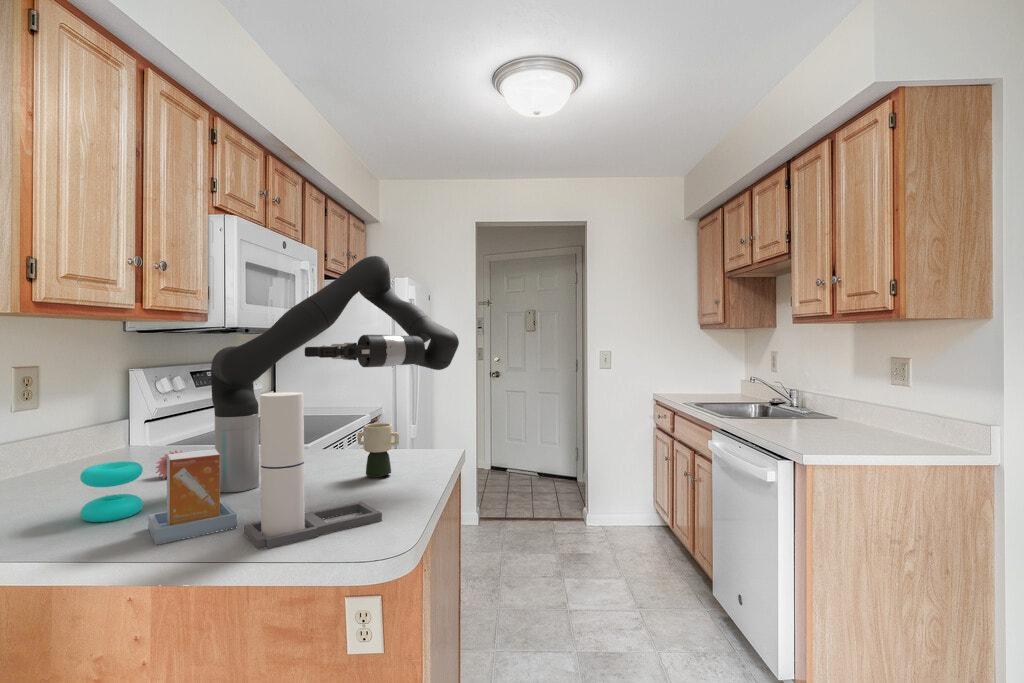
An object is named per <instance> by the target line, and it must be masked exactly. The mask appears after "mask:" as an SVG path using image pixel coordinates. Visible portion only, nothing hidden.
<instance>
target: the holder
mask: <svg viewBox="0 0 1024 683" xmlns="http://www.w3.org/2000/svg"><path fill="white" fill-rule="evenodd" d="M355 511H358V512H359V513H360V512H361V513H360V515H355V516H351V517H346V518H341V519H336V520H332V521H328V522H326V521H325V519H328V517H330V518H333V517H332V516H335V517H337V516H336V515H339V516H342V515H341V514H344V515H347V514H346V513H348V514H351V513H350V512H353V513H356V512H355ZM362 513H363V514H362ZM323 518H325V519H323ZM381 521H383V512H381V511H380V510H378V509H376V508H374V507H373V506H371V505H369V504H367V503H365V502H363V501H357V502H352V503H351V502H350V503H348V504H347V503H346V504H343V505H338V506H333V507H327V508H322V509H318V510H312V511H308V512H307V511H306V512H305V529H302V530H297V531H293V532H288V533H284V534H279V535H275V536H270V537H266V538H265V537H264V536H263V535H262V534H261V520H258V521H254V522H249V524H244V525H243V535H244V536H247V537H248V538H247V537H246V538H247V539H248V540H249V541H250V542H251V543H252V545H253V546H254V547H255V548H256V549H257V550H263V549H266V550H267V549H271V548H277V547H279V546H280V547H281V546H284V545H285V546H286V545H289V544H293V542H294V543H297V541H298V542H301V540H302V541H305V540H310V538H311V539H314V537H315V538H318V536H322V535H326V533H327V534H329V533H333V531H334V532H339V531H342V529H343V530H347V529H350V527H352V528H355V526H356V527H359V525H360V526H363V525H368V523H369V524H372V522H373V523H377V522H381ZM338 530H339V531H338ZM321 534H322V535H321Z"/></svg>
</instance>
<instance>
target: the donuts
mask: <svg viewBox="0 0 1024 683" xmlns="http://www.w3.org/2000/svg"><path fill="white" fill-rule="evenodd" d="M143 472H144V471H143V466H142V465H141V464H140V463H139V462H137V461H114V462H105V463H100V464H95V465H92V466H88V467H86V468H85V469H83V470H82V472H81V473H80V476H79V478H80V481H81V482H82V484H84V485H85V486H87V487H88V486H89V487H93V488H110V487H117V486H122V485H126V484H129V483H131V482H135V480H137V479H138V478H139V477H141V475H142V474H143ZM143 507H144V501H143V500H142V498H141V497H140V496H138V495H134V494H130V493H118V494H110V495H105V496H101V497H98V498H95V499H92V500H91V501H89V502H87V503H86V504H85V505H84V506H83V507H82V508H81V509H80V517H81V518H82V519H83V520H84V521H86V522H89V523H107V521H108V522H114V521H118V520H122V519H123V520H124V519H127V518H130V517H133V516H135V515H136V514H138V513H139V512H140V511H141V510H143Z"/></svg>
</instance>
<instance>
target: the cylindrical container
mask: <svg viewBox="0 0 1024 683" xmlns="http://www.w3.org/2000/svg"><path fill="white" fill-rule="evenodd" d="M304 397H305V396H304V392H301V391H284V392H282V391H281V392H267V393H261V394H260V395H259V407H260V408H259V413H260V414H259V417H260V418H259V421H260V425H259V429H260V430H259V441H260V517H261V518H260V521H261V531H260V533H261V534H262V535H263V536H264V537H265V538H266V537H270V536H275V535H279V534H284V533H288V532H293V531H297V530H302V529H306V527H305V513H306V512H305V510H306V509H305V508H306V507H305V427H304V426H305V421H304V420H305V418H304V416H305V407H304V406H305V405H304V402H305V401H304V399H305V398H304Z"/></svg>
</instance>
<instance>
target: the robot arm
mask: <svg viewBox="0 0 1024 683" xmlns="http://www.w3.org/2000/svg"><path fill="white" fill-rule="evenodd" d="M391 282H392V280H391V273H390V265H389V263H388V262H387V259H385V258H384V257H382V256H378V255H371V256H368V257H364V258H362V259H360V260H359V261H358V262H356V263H354V264H353V265H352V266H351V267H349V268H348V269H347V270H346V271H345V272H343V273H342V274H341V275H340V276H339V277H337V278H336V279H334V280H333V281H331V282H330V283H329V284H327V285H325V286H324V287H322V288H321V289H319V290H318V291H316V292H315V293H314V294H312V295H311V296H308V297H306V298H305V299H303V300H301V301H300V302H298V303H297V304H295V305H294V306H292V307H291V308H290V309H288V310H287V311H285V313H284V314H283V315H281V316H280V317H279V319H278V320H276V322H275V323H274V324H273V325H272V326H271V327H269V328H268V329H267V330H266V331H265V332H263V333H261V334H259V335H258V336H256V337H254V338H252V339H251V340H249V341H246V342H244V343H241V344H240V345H238V346H237V345H235V346H227V347H224V348H222V349H221V350H219V351H218V352H216V353H215V355H214V356H213V358H212V360H211V367H210V379H211V381H210V382H211V401H212V405H213V408H214V409H213V410H214V449H216V450H217V452H218V453H219V454H220V493H239V492H245V491H249V490H252V489H256V488H257V487H259V485H260V442H259V441H260V430H259V429H260V425H259V421H260V418H259V417H260V416H259V402H258V400H257V398H256V395H255V388H254V385H255V384H254V382H255V381H256V380H258V379H259V378H260V377H261V376H263V374H265V373H266V372H267V371H268V370H269V369H270V368H271V367H273V366H274V365H275V364H276V363H277V362H279V361H280V360H282V358H284V357H285V356H287V355H288V354H289V353H291V352H293V351H295V350H297V349H299V348H301V346H304V345H305V344H306V343H309V341H311V340H312V339H315V338H317V337H318V336H319V335H321V334H322V333H324V332H325V331H326V330H327V329H329V328H330V327H331V326H333V325H334V324H335V322H336V321H337V320H338V319H339V318H340V316H341V314H342V313H343V312H344V310H345V308H346V307H347V305H348V304H349V302H350V301H351V300H353V298H354V296H356V294H358V293H359V294H360V295H361V296H363V298H364V299H366V300H367V301H369V303H371V304H372V305H375V306H376V307H377V308H378V309H379V310H380V311H382V312H383V313H385V314H386V315H387V316H389V317H390V318H391V319H392V320H393V321H395V322H396V323H397V325H398V326H399V327H401V329H402V330H403V331H404V332H406V334H407V335H395V334H394V335H393V334H363V335H361V336H360V337H359V338H358V340H357V342H344V343H332V344H331V345H327V346H326V345H322V346H306V347H305V348H304V357H306V358H311V357H313V358H315V357H318V358H321V359H322V358H324V359H325V358H328V359H329V358H331V359H332V360H345V361H358V364H359V365H360V366H361V367H362V368H381V367H382V368H383V367H386V368H387V367H394V366H404V365H405V366H406V365H410V366H411V365H415V366H418V367H419V366H420V367H423V368H427V369H431V370H434V371H442V370H444V369H447V368H448V367H449V366H451V363H452V361H453V359H454V357H455V354H456V352H457V351H458V349H459V348H458V347H459V344H460V342H459V337H458V335H457V334H456V333H455V332H454V331H452V330H451V329H449V328H447V327H445V326H443V325H441V324H439V323H437V322H436V321H434V320H432V319H431V318H430V316H428V315H427V314H426V313H425V311H423V310H422V309H421V308H420V307H419V306H418V305H416V304H415V303H412V302H410V301H406V300H405V301H404V300H402V299H401V298H400V297H399V296H398V295H397V294H396V292H395V291H394V290H393V288H392V286H391V285H392V283H391ZM427 342H429V343H428V344H427V348H426V345H425V343H427Z"/></svg>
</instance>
